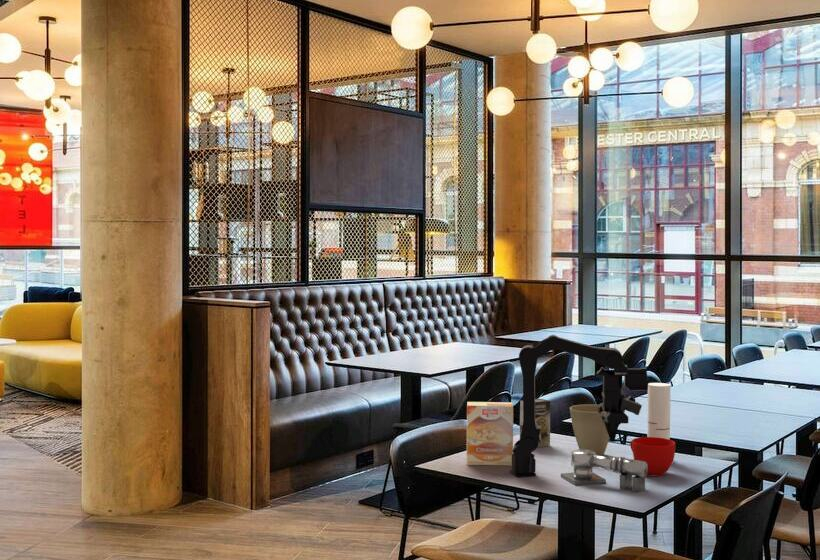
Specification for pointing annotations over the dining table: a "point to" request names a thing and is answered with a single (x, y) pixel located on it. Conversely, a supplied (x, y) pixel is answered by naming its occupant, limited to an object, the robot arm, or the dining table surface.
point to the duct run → (632, 468)
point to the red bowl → (654, 453)
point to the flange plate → (582, 481)
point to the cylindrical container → (658, 410)
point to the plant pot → (589, 428)
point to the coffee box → (540, 420)
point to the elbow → (592, 460)
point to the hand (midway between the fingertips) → (612, 441)
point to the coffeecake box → (489, 433)
